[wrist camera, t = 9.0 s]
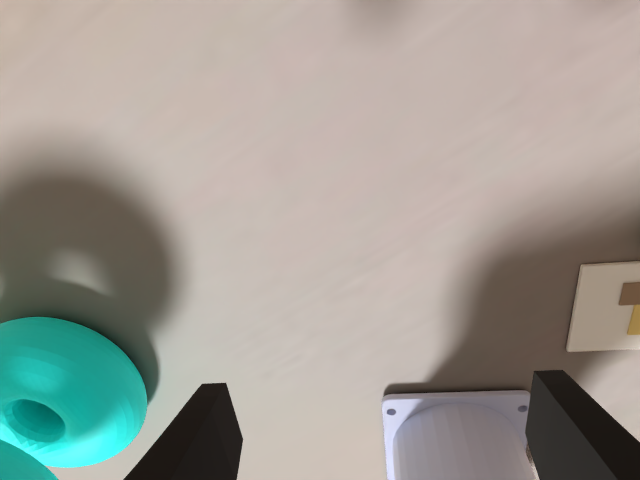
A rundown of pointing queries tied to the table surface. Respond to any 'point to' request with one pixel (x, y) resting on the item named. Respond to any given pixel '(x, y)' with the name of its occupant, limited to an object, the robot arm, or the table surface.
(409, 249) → the table surface
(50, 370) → the donuts
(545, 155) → the table surface
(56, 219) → the table surface
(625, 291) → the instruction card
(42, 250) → the table surface
